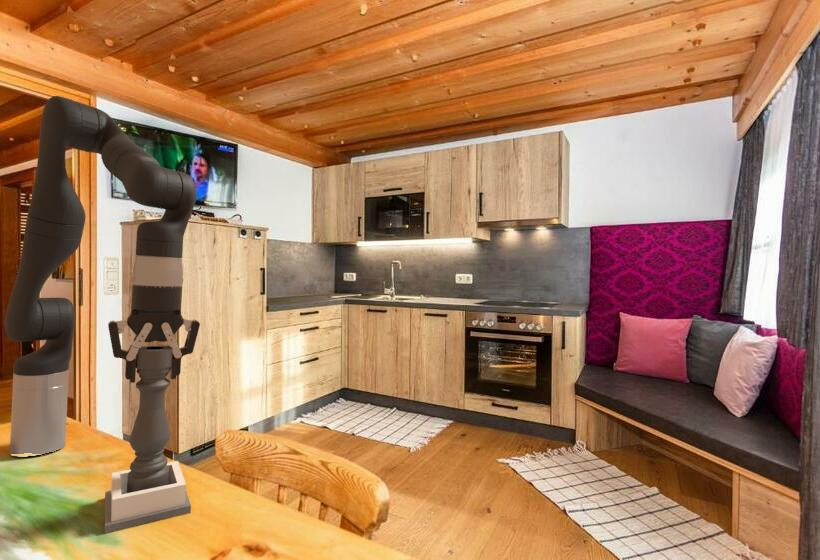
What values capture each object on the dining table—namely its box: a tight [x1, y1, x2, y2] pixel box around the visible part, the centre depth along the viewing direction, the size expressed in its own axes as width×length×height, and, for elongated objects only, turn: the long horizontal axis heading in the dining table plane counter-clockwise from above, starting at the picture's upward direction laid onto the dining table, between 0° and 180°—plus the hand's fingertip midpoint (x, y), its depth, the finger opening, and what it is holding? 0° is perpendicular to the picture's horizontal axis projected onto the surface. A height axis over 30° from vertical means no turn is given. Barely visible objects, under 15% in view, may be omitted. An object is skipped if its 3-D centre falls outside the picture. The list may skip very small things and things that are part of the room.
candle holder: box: [127, 344, 173, 493], centre depth 75 cm, size 6×6×25 cm
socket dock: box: [104, 460, 192, 534], centre depth 75 cm, size 12×12×5 cm
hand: (152, 379), depth 75 cm, fingers closed on candle holder, 5 cm apart
